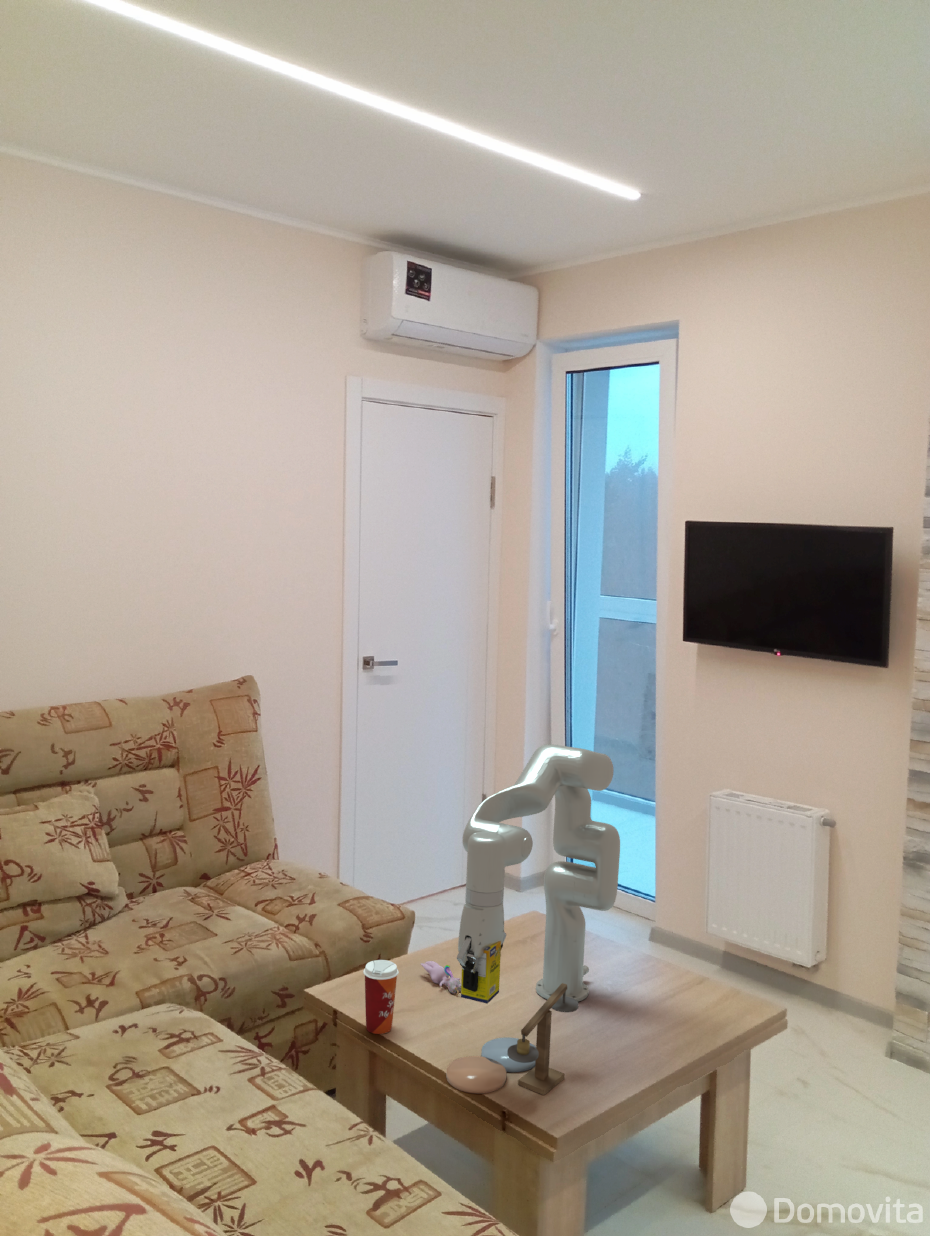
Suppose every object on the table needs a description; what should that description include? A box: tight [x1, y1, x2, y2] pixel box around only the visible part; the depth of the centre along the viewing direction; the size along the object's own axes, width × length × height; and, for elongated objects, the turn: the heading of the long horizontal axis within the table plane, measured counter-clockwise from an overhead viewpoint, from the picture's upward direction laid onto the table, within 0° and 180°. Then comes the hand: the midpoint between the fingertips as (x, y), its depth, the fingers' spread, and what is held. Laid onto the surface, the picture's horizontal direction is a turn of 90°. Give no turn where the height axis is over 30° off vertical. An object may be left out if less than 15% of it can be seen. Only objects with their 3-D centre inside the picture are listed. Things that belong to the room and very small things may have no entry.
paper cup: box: [362, 959, 399, 1035], centre depth 219 cm, size 8×8×14 cm
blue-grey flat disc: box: [481, 1036, 536, 1073], centre depth 209 cm, size 12×12×1 cm
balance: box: [507, 983, 579, 1096], centre depth 200 cm, size 21×6×18 cm, turn 145°
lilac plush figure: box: [419, 960, 461, 997], centre depth 242 cm, size 6×6×15 cm
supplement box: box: [460, 941, 502, 1005], centre depth 199 cm, size 6×6×11 cm
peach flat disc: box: [445, 1055, 507, 1095], centre depth 201 cm, size 12×12×1 cm
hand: (480, 982), depth 200 cm, fingers closed on supplement box, 6 cm apart
